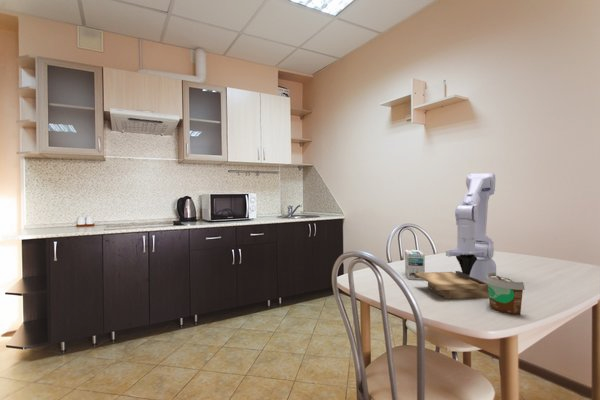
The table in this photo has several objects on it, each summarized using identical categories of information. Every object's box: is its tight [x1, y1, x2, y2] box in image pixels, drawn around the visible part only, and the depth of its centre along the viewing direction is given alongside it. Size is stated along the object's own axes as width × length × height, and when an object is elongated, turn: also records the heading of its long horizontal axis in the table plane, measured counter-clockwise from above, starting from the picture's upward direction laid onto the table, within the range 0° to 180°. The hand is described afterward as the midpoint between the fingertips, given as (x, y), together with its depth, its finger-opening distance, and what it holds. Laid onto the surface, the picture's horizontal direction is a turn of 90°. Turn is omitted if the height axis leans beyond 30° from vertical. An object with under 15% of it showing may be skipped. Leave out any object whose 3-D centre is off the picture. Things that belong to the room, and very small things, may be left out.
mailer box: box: [427, 276, 489, 301], centre depth 112 cm, size 15×14×4 cm
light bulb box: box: [404, 249, 426, 281], centre depth 133 cm, size 11×7×11 cm, turn 168°
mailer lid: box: [415, 270, 479, 290], centre depth 111 cm, size 15×15×3 cm
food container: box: [485, 271, 526, 316], centre depth 95 cm, size 12×6×10 cm, turn 5°
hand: (466, 275), depth 112 cm, fingers closed
